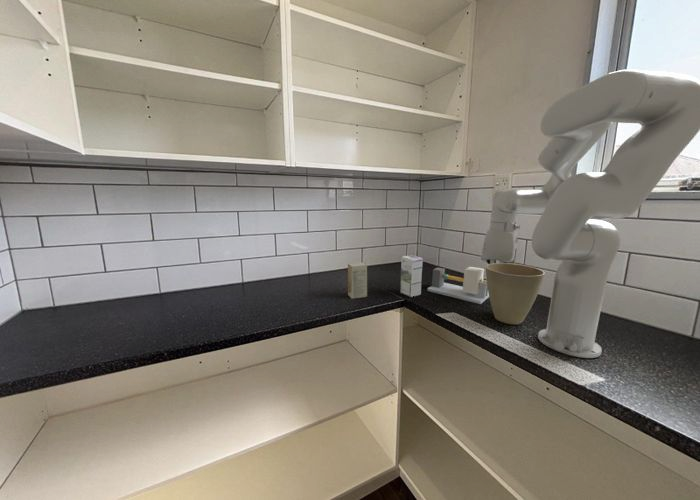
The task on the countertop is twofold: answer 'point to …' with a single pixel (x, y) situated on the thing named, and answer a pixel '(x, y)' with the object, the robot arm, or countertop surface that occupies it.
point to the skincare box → (357, 280)
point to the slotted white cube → (472, 280)
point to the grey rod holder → (456, 287)
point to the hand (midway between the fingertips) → (495, 278)
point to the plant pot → (512, 290)
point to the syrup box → (411, 275)
